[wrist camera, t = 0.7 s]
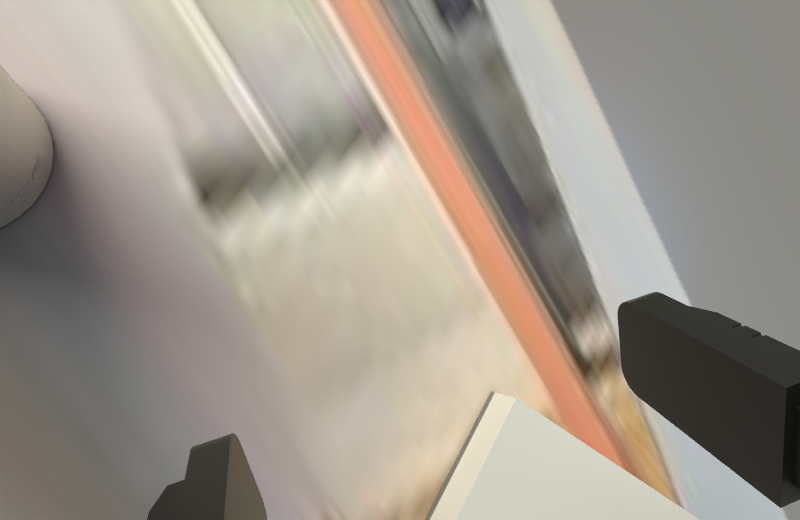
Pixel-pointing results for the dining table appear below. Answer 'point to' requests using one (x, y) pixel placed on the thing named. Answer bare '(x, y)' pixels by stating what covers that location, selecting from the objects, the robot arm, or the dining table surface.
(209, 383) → the dining table surface
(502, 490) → the white socket block
